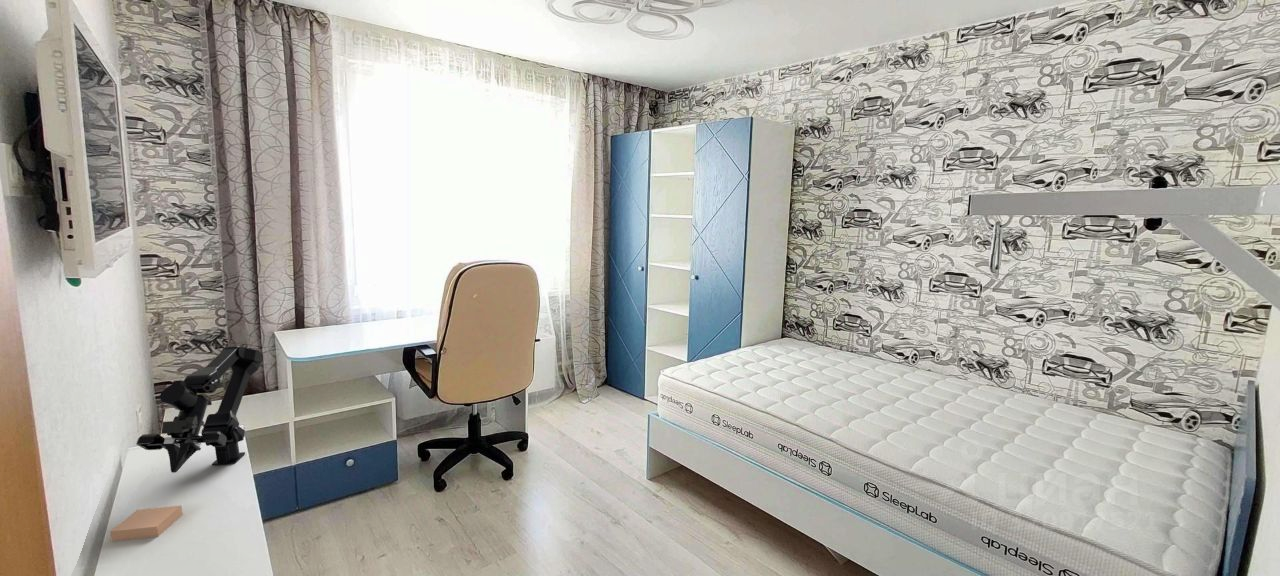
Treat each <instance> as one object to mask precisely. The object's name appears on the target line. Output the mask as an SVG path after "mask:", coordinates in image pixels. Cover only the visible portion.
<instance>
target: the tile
mask: <svg viewBox="0 0 1280 576" xmlns="http://www.w3.org/2000/svg"><path fill="white" fill-rule="evenodd" d="M183 515H184V514H183V507H182V505H181V504H180V505H172V506H171V505H170V506H163V507H153V508H151V507H150V508H143V509H141V508H140V509H136V510H135V511H134V512H133V513H131V514H130V515H129V516H127V518H125V519H123V521H121V522H120V523H119V524H118V525H116V526H114V527H113V528H112V529H111V530H110V531H109V533H110V535H109V536H110V538H111V542H118V541H125V540H126V541H127V540H136V539H137V540H138V539H145V538H154V537H160V536H161V535H162V534H163V533H164V532H165V531H167V530H168V529H169V528H170V527H171V526H172V525H173V524H174V523H175V522H177V521H178V520H179V519H180V518H182V516H183Z"/></svg>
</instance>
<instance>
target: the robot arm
mask: <svg viewBox="0 0 1280 576" xmlns="http://www.w3.org/2000/svg"><path fill="white" fill-rule="evenodd" d="M263 361H264V354H263V352H261V351H260V350H259V349H253V348H248V347H244V346H243V345H242V346H241V345H227V346H224V347H223V348H222V349H221V352H220V353H218V355H217V356H216V357H215V358H213V359H212V360H211V361H210V362H209V363H208V364H207V365H206V366H204V367H203V368H202V369H198V370H196V371H193V372H192V373H190V374H188V375H187V376H186V377H185V378H184V380H182V379H181V380H178V379H177V380H173V381H172V384H171V385H167V386H166V387H165V388H164V389H163V390H162V391H161V392H160V395H159V398H160V401H161V402H162V403H164V404H166V405H168V406H169V407H171V408H173V409H175V410H177V411H179V412H178V414H177V415H176V416H174V417H173V420H171V421H170V420H169V421H167V420H166V421H162V424H161V431H160V434H162V435H163V434H164V435H165V434H166V435H167V437H164V436H162V435H160V434H158V433H145V434H142V435H141V436H139V437H138V439H137V441H136V443H135V445H136V446H138V447H140V448H141V449H144V450H145V451H159V450H160V451H161V450H163V449H164V450H166V451H167V453H168V458H169V466H170V472H171V473H172V474H173V473H174V474H175V473H177V472H178V471H179V470H180V468H182V467H183V465H184V464H186V462H187V461H188V460H189V459H190V458H191V457H192V456H193V455H194V454H195V453H196V452H198V451H201V449H202V447H201V445H202V444H203V443H204V444H205V445H206V446H212V447H213V448H214V450H215V456H216V457H215V458H216V460H214V461H213V462H212V463H211V466H220V465H231V464H236V463H237V462H238V461H239V460H241V458H242V457H244V456H245V455H246V452H244V451H243V452H241V451H240V448H239V442H242V441H244V439H245V436H246V432H245V431H246V430H245V428H242V427H241V426H240V422H239V419H238V417H237V413H238V411H239V409H240V405H241V402H242V399H243V397H244V394H245V392H246V389H247V385H248V384H249V383H248V382H249V380H250V377H251V376H252V375H253V374H255V373H256V372H257V371H258V370H259V368H260V367H261V365H262V363H263ZM229 369H231V371H232V372H231V375H230V378H229V381H228V384H227V386H226V389H225V392H224V393H223V396H222V399H221V402H220V404H219V407H218V410H217V411H216V412H215V413H209V414H208V415H207V416H206V419H205V422H204V417H205V413H206V410H207V407H208V406H212V404H213V403H212V400H211V399H210V398H209V396H207V395H206V396H204V395H202V394H213V393H215V392H216V391H217V390H218V388H219V387H220V385H221V377H222V376H223V375H225V373H227V371H228V370H229ZM201 428H202V430H201ZM200 431H201V435H200ZM169 436H170V437H169Z"/></svg>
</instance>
